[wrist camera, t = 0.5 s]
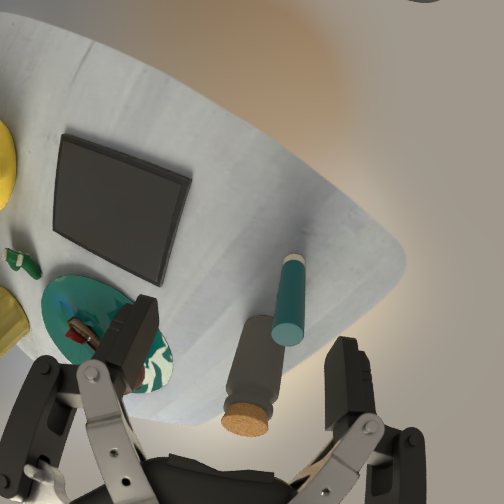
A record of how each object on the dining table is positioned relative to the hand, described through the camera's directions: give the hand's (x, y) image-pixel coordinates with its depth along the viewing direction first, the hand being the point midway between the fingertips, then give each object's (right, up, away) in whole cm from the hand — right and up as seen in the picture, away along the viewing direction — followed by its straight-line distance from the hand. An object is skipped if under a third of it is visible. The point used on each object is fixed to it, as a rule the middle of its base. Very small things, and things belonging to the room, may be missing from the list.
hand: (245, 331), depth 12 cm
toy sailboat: (-27, -12, +34) cm, 45 cm away
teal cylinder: (+5, +2, +21) cm, 21 cm away
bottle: (+2, -7, +26) cm, 27 cm away
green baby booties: (-42, +2, +30) cm, 51 cm away
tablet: (-18, +9, +21) cm, 29 cm away
